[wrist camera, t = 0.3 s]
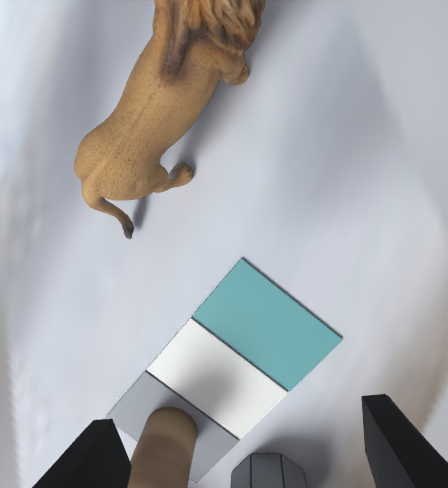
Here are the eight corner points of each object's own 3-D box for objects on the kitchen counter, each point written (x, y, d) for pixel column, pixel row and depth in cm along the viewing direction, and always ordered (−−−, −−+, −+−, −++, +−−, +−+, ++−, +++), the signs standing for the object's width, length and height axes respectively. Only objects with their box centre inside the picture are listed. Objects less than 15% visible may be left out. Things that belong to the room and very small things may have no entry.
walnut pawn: (176, 460, 23) (157, 540, 18) (135, 431, 22) (103, 503, 17) (208, 428, 22) (196, 502, 17) (165, 397, 21) (141, 463, 17)
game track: (196, 481, 23) (196, 483, 23) (105, 417, 22) (104, 418, 22) (342, 339, 20) (342, 339, 20) (241, 258, 19) (241, 258, 19)
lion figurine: (189, -48, 16) (117, -317, 7) (286, -1, 16) (332, -207, 7) (93, 218, 19) (-35, 258, 11) (174, 256, 19) (114, 325, 11)
